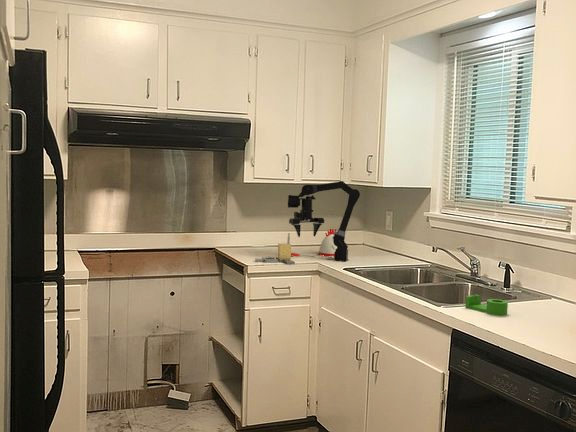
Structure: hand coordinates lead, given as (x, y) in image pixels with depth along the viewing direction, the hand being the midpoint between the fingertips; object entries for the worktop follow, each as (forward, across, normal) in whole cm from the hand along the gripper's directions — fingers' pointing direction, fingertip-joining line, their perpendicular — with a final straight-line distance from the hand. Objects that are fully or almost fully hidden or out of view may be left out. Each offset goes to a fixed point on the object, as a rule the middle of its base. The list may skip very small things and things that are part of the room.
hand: (306, 236), depth 340 cm
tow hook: (+12, +2, -15) cm, 20 cm away
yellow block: (+12, +15, +3) cm, 19 cm away
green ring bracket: (+14, -10, +128) cm, 129 cm away
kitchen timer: (+13, -22, -12) cm, 28 cm away
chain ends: (+12, +21, +5) cm, 25 cm away
